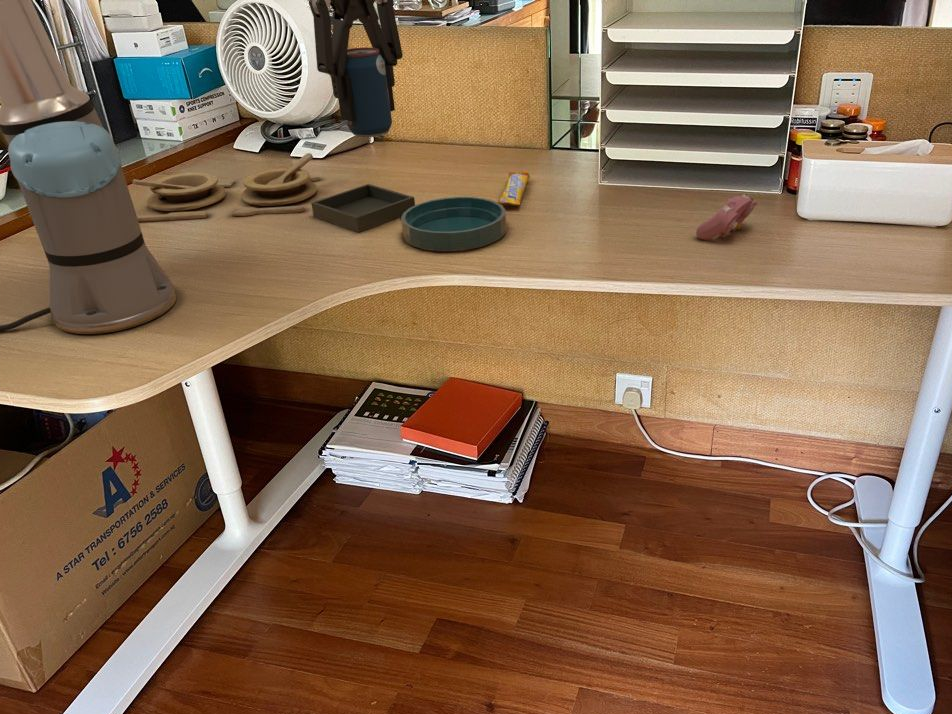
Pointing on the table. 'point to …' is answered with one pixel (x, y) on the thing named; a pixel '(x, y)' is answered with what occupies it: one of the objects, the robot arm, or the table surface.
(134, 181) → the tableware set
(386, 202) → the tray
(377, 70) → the soda can
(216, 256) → the table surface
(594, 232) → the table surface
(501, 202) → the candy bar
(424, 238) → the teal round dish
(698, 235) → the mauve toy shoe
